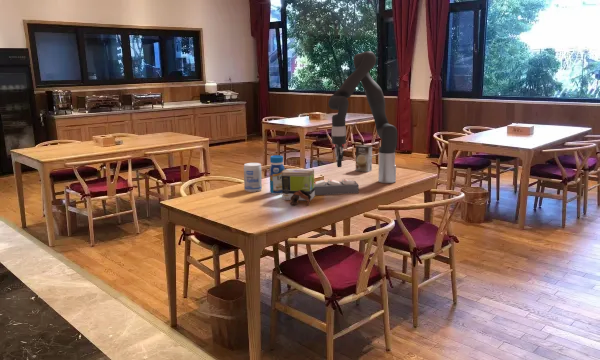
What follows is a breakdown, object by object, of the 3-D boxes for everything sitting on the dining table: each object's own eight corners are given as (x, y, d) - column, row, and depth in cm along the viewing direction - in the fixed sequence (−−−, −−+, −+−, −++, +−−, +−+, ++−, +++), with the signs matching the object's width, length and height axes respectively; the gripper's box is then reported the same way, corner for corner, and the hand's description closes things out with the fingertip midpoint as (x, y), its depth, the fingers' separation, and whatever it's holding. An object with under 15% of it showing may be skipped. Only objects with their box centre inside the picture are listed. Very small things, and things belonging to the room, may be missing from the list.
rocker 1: (324, 182, 270) (323, 179, 270) (325, 184, 266) (324, 181, 265) (313, 185, 270) (312, 182, 269) (314, 187, 265) (313, 184, 265)
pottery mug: (294, 201, 254) (302, 188, 252) (308, 212, 250) (316, 198, 248) (282, 201, 244) (290, 187, 242) (296, 212, 240) (304, 198, 238)
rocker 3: (352, 183, 272) (353, 180, 271) (354, 185, 268) (354, 182, 267) (341, 182, 271) (342, 178, 271) (343, 183, 267) (344, 180, 266)
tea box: (315, 196, 261) (314, 168, 258) (310, 201, 252) (309, 172, 249) (287, 195, 265) (286, 167, 262) (281, 200, 256) (280, 171, 253)
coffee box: (354, 170, 320) (355, 146, 317) (359, 169, 326) (359, 144, 322) (368, 172, 316) (368, 147, 312) (372, 170, 321) (372, 145, 317)
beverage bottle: (275, 190, 276) (274, 154, 271) (288, 191, 272) (287, 155, 267) (266, 193, 269) (265, 157, 264) (280, 195, 265) (278, 158, 260)
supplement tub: (246, 193, 271) (245, 166, 268) (242, 189, 280) (241, 163, 276) (264, 191, 274) (263, 164, 271) (259, 187, 283) (258, 161, 279)
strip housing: (354, 188, 275) (354, 180, 274) (358, 193, 266) (358, 184, 265) (309, 191, 273) (309, 182, 272) (311, 195, 264) (311, 186, 263)
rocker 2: (338, 185, 271) (339, 181, 271) (339, 186, 267) (340, 183, 266) (327, 182, 270) (328, 178, 270) (329, 184, 266) (330, 180, 266)
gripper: (348, 136, 257) (348, 169, 261) (343, 132, 270) (343, 164, 274) (334, 136, 256) (334, 169, 260) (329, 133, 269) (330, 164, 273)
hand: (339, 166), depth 267 cm, fingers closed
